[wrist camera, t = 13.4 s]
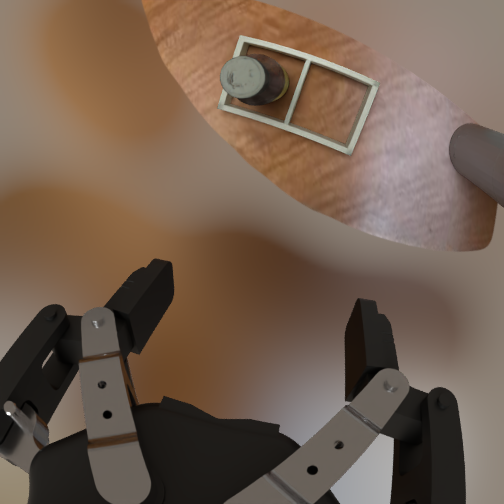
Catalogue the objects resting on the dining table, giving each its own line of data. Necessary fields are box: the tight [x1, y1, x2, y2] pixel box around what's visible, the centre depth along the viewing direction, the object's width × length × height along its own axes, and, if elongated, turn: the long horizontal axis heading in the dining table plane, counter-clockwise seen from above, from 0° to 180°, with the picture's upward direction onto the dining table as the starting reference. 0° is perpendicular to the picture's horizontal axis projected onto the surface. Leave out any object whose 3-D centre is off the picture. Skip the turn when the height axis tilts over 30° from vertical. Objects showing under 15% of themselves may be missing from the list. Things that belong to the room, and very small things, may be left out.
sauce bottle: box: [220, 54, 289, 106], centre depth 31 cm, size 6×6×20 cm
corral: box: [217, 35, 380, 156], centre depth 37 cm, size 20×12×4 cm, turn 73°
